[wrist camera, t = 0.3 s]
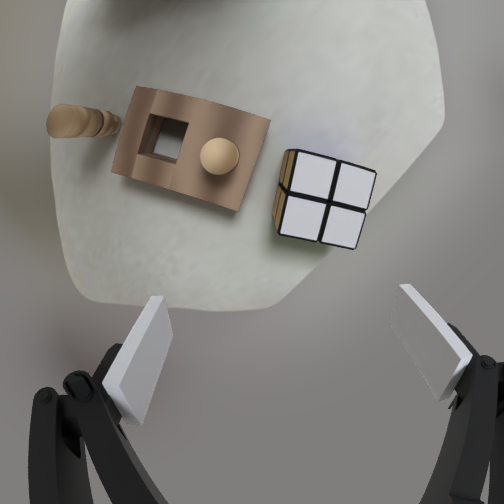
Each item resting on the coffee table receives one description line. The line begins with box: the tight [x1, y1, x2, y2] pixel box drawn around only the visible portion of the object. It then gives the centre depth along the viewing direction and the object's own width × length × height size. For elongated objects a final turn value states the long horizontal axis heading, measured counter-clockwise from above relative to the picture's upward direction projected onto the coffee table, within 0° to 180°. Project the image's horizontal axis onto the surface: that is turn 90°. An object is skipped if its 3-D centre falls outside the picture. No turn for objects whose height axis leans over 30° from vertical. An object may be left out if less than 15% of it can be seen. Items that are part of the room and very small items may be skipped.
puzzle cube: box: [272, 149, 377, 250], centre depth 34 cm, size 10×10×10 cm
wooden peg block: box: [111, 86, 271, 211], centre depth 32 cm, size 18×12×10 cm, turn 71°
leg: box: [47, 104, 121, 138], centre depth 28 cm, size 4×4×14 cm
